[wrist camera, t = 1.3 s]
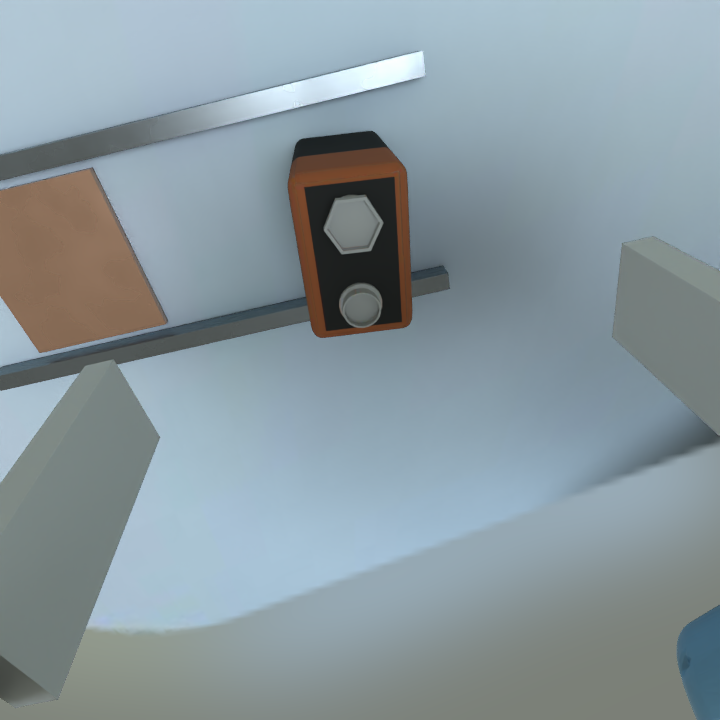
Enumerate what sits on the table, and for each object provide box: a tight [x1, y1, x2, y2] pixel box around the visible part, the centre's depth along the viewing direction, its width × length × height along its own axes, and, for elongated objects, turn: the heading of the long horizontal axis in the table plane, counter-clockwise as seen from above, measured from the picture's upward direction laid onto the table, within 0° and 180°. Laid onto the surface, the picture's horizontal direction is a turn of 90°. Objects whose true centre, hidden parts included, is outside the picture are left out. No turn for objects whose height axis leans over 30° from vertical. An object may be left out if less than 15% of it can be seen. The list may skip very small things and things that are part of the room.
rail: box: [0, 51, 450, 391], centre depth 26 cm, size 12×28×1 cm, turn 102°
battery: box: [288, 131, 412, 338], centre depth 22 cm, size 4×7×10 cm, turn 5°
